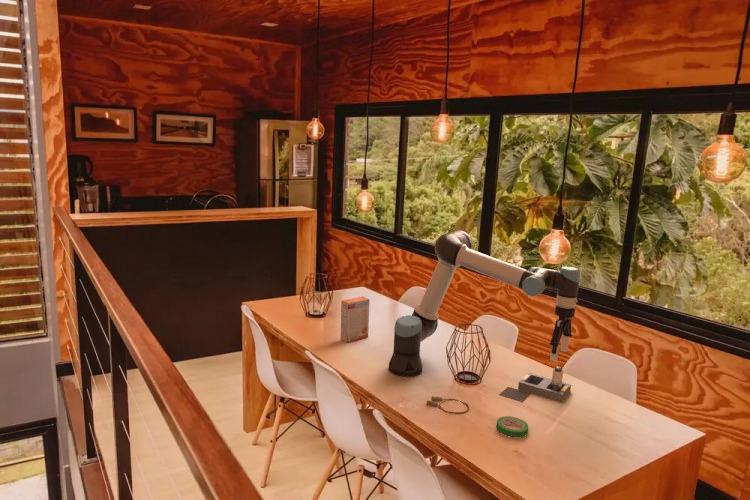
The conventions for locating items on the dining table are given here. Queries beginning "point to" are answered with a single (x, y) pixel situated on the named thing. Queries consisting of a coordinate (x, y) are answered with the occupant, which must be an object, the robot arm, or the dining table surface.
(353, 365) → the dining table surface
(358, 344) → the dining table surface
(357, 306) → the cracker box
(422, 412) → the dining table surface
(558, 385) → the plug
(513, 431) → the tape roll
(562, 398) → the socket block
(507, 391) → the plate
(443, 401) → the looped connector cable
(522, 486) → the dining table surface
